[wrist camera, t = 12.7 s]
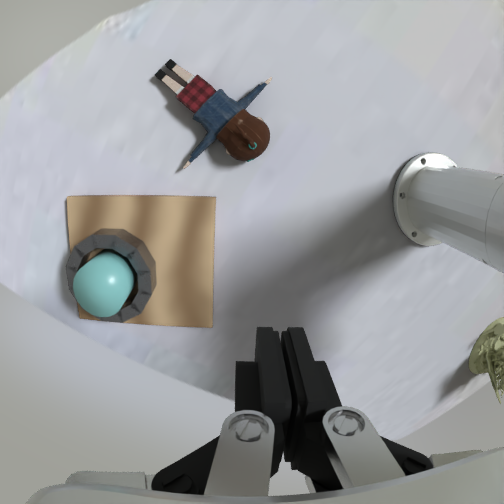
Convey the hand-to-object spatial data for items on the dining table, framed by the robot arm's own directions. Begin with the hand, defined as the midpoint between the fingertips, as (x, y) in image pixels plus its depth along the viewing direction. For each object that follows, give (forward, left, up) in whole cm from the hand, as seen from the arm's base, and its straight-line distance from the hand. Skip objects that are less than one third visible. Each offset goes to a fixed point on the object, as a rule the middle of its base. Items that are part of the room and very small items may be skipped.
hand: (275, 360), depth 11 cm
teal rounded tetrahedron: (+15, +6, -25) cm, 30 cm away
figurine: (-51, +22, -27) cm, 62 cm away
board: (+12, +5, -26) cm, 29 cm away
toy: (+4, -13, -27) cm, 30 cm away
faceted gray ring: (+15, +6, -25) cm, 30 cm away
